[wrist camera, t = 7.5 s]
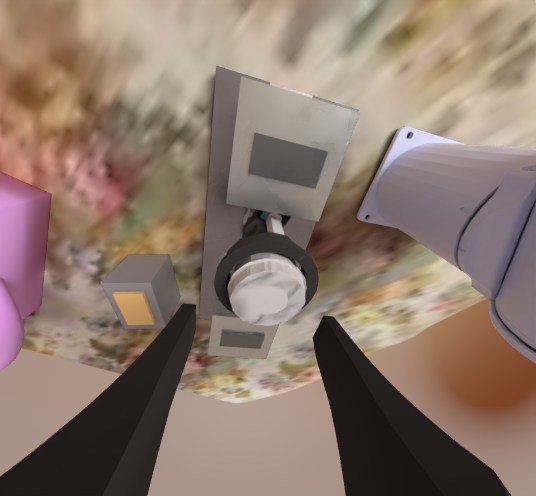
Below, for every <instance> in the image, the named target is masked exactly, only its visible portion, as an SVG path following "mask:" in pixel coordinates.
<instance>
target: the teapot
mask: <svg viewBox="0 0 536 496" xmlns="http://www.w3.org/2000/svg"><path fill="white" fill-rule="evenodd" d="M51 196H52V194H50V193H48V192H46V191H44V190H41V189H39V188H37V187H34V186H32V185H30V184H27V183H25V182H23V181H20V180H18V179H16V178H14V177H11V176H9V175H7V174H4V173H2V172H0V370H2V369H3V368H5V367H7V366H8V365H9V364H10V363H11V362H12V361H13V360H14V359H15V358H16V357H17V355H18V353H19V351H20V349H21V347H22V343H23V340H24V324H23V320H24V319H25V318H26V317H27V316H29V315H30V314H31V313H32V312H34V311H35V310H36V309H37V308H38V307H40V306H41V303H42V292H43V281H44V271H45V260H46V249H47V239H48V228H49V217H50V206H51Z"/></svg>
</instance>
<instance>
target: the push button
mask: <svg viewBox="0 0 536 496" xmlns="http://www.w3.org/2000/svg"><path fill="white" fill-rule="evenodd" d="M250 211H251V208H249V209H248V211H247V212H246V214H245V215H244V218H243V224H245V225H244V228H243V231H242V233H241V235H240V239H239V240H238V241H237V242H236V243H235V244H234V245H233V246H232V247H231V248H230V249H229V250H228V251H227V254H226V255H225V256H224V257H223V259H222V260H221V262H220V263H219V265H218V267H217V271H216V274H215V279H214V288H215V292H216V295H217V297H218V299H219V301H220V302H221V303H222V305H223V306H224V307H225V308H227V309H228V310H229V311H231V312H232V313H234V314H236V315H237V316H239V317H240V318H241V319H242V320H244V321H247V322H248V323H251V324H255V325H264V326H268V325H269V326H272V325H275V324H279V323H284V322H286V321H288V320H289V319H291V318H292V317H294V316H295V315H297V314H298V313H299V311H300V310H301V309H302V308H304V307H305V306H306V305H307V304H308V303H309V302H310V300H311V299H312V298H313V296H314V294H315V292H316V290H317V287H318V271H317V268H316V266H315V264H314V262H313V260H312V258H311V257H310V255H309V254H308V253H307V252H306V251H305V250H304V249H303V248H301V247H300V246H298V245H296V244H295V243H294V242H293V241H292V240H291V239H290V238H289V237H288V236H286V235H285V234H284V231H283V227H284V226H285V225H286V224H287V222H288V221H289V220H290V218H291V216H287V215H282V214H277V213H272V212H267V211H262V210H255V212H254V213H253V214H251V213H250ZM295 260H296V261H297V262H298V263H299V264H300V265H301V270H299V269H298V268H297V266H296V263H295ZM234 266H235V270H234V274H233V275H232V277H231V275H230V271H231V269H232V268H233V267H234Z"/></svg>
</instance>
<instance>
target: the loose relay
mask: <svg viewBox="0 0 536 496" xmlns="http://www.w3.org/2000/svg"><path fill="white" fill-rule="evenodd" d="M100 284H101V286H102V288H103V290H104V292H105V293H106V295H107V297H108V299H109V301H110V303H111V305H112V307H113V309H114V311H115V313H116V314H117V316H118V318H119V320H120V322H121V324H122V326H123V328H124V329H158V328H165V327H166V325H167V324H168V323H169V321H170V319H171V316H172V314H173V312H174V310H175V307H176V305H177V303H178V301H179V298H180V293H179V289H178V285H177V281H176V277H175V273H174V269H173V266H172V262H171V258H170V254H129V255H128V256H127V257H126V258H125V259H124V260H123V261H122V262H121V263H120V264H119V265H118V266H117V267H116V268H115V269H114V270H113V271H112V272H111V273H110V274H109V275H108V276H107V277H106V278H105V279H104V280H103V281H102V282H101V283H100Z"/></svg>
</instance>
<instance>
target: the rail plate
mask: <svg viewBox="0 0 536 496" xmlns="http://www.w3.org/2000/svg"><path fill="white" fill-rule="evenodd" d="M359 115H360V113H359V112H358V110H357V109H354V108H351V107H347V106H344V105H341V104H338V103H335V102H331V101H328V100H325V99H322V98H318V97H315V96H312V95H309V94H306V93H302V92H299V91H296V90H293V89H289V88H286V87H283V86H280V85H277V84H273V83H270V82H267V81H264V80H261V79H257V78H254V77H251V76H248V75H244V74H241V73H238V72H235V71H232V70H228V69H225V68H222V67H219V66H216V78H215V92H214V107H213V121H212V136H211V150H210V165H209V179H208V194H207V208H206V223H205V237H204V252H203V266H202V281H201V295H200V310H199V319H205V320H212V324H211V333H210V341H209V349H208V355H211V356H226V357H242V358H258V359H266V357H267V355H268V352H269V349H270V347H271V344H272V342H273V339H274V336H275V334H276V331H277V329H278V326H279V324H275V325H272V326H269V325H268V326H264V325H255V324H251V323H248V322H247V321H244V320H242V319H241V318H240V317H239V316H237V315H236V314H234V313H232V312H231V311H229V310H228V309H227V308H225V307H224V306H223V305H222V303H221V302H220V301H219V299H218V297H217V295H216V292H215V288H214V279H215V274H216V271H217V267H218V265H219V263H220V262H221V260H222V259H223V257H224V256H225V255H226V254H227V251H228V250H229V249H230V248H231V247H232V246H233V245H234V244H235V243H236V242H237V241H238V240H239V239H240V235H241V233H242V231H243V228H244V225H245V224H243V218H244V215H245V214H246V212H247V211H248V209H249V208H251V211H250V213H251V214H253V213H254V212H255V210H262V211H267V212H272V213H277V214H282V215H287V216H291V218H290V220H289V221H288V222H287V224H286V225H285V226H284V227H283V231H284V234H285V235H286V236H288V237H289V238H290V239H291V240H292V241H293V242H294V243H295V244H296V245H298V246H300V247H301V248H303V249H304V250H306V248H307V245H308V242H309V240H310V237H311V234H312V232H313V229H314V227H315V224H316V221H318V222H319V219H320V216H321V214H322V211H323V209H324V206H325V203H326V201H327V198H328V196H329V193H330V190H331V188H332V185H333V183H334V180H335V177H336V175H337V172H338V170H339V167H340V164H341V162H342V159H343V157H344V154H345V151H346V149H347V146H348V143H349V141H350V138H351V136H352V133H353V130H354V128H355V125H356V123H357V120H358V117H359ZM295 263H296V266H297V268H298V269H299V266H300V264H299V263H298V262H297V261H296V260H295ZM234 270H235V266H234V267H233V268H232V269H231V271H230V275H231V277H232V275H233V274H234Z"/></svg>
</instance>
